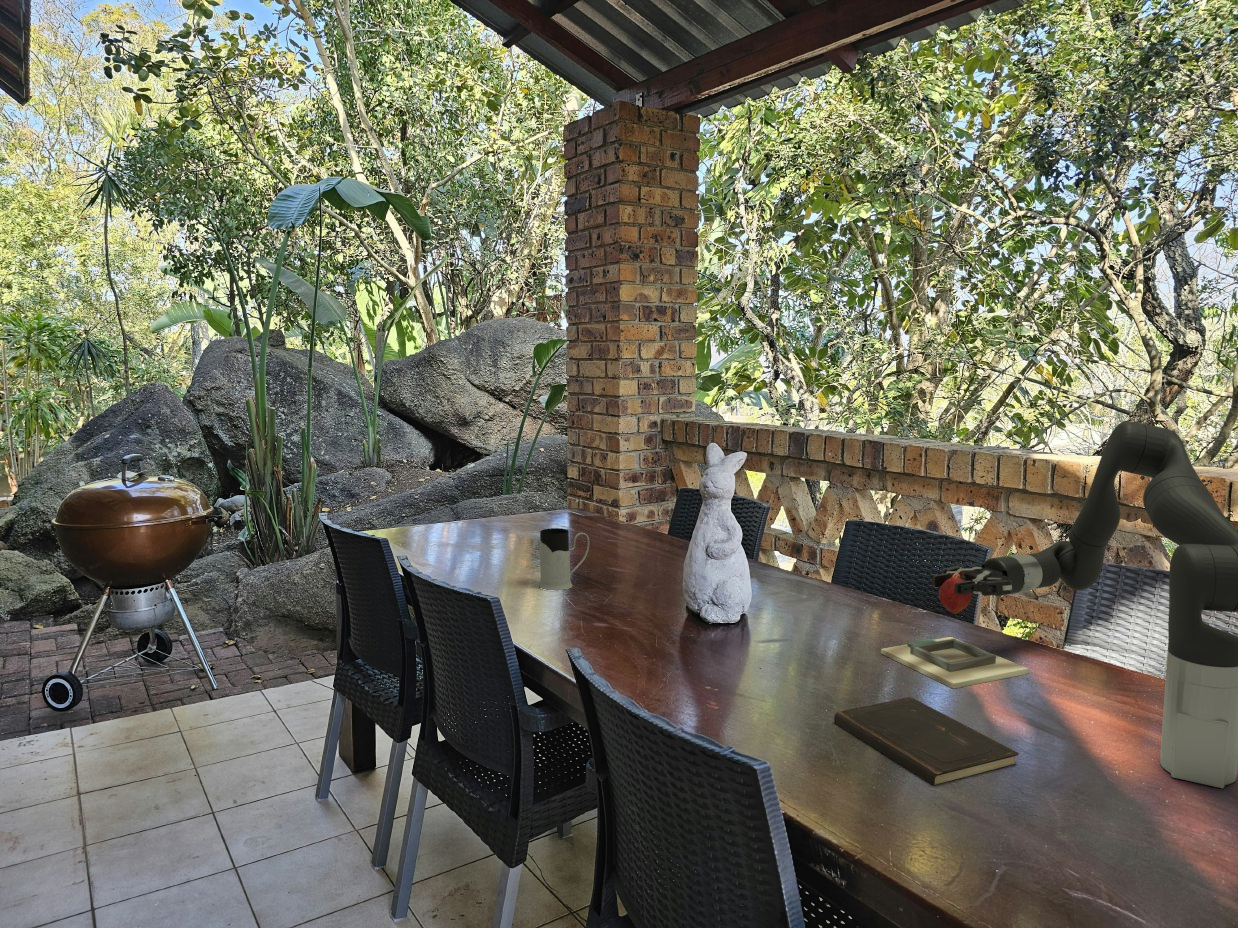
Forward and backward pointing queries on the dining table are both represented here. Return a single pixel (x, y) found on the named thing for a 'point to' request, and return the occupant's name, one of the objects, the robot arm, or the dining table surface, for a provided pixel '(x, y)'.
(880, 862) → the dining table surface
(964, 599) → the onion
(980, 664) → the cradle board
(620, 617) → the dining table surface
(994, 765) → the hardcover book
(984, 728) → the dining table surface
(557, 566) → the glass holder
